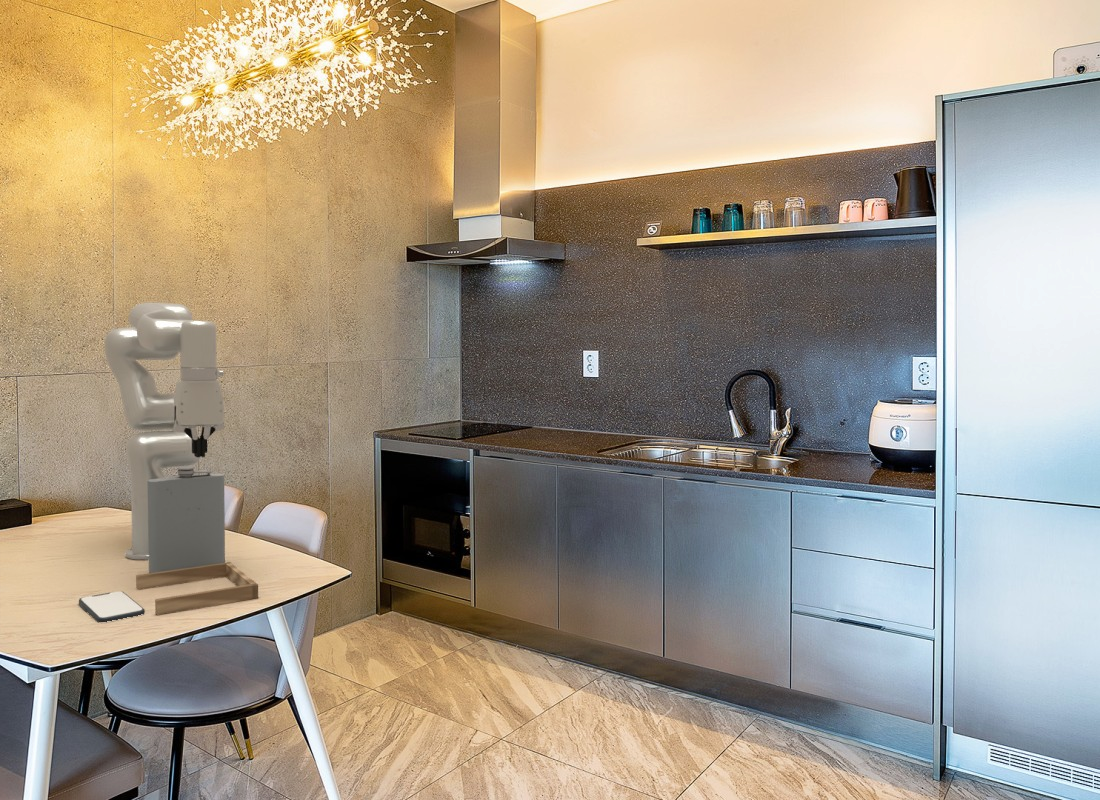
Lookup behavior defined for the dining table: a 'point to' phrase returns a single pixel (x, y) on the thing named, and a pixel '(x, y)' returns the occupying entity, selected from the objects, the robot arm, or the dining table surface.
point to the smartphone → (111, 606)
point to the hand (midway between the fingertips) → (199, 456)
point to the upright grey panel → (186, 520)
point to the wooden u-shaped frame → (241, 592)
